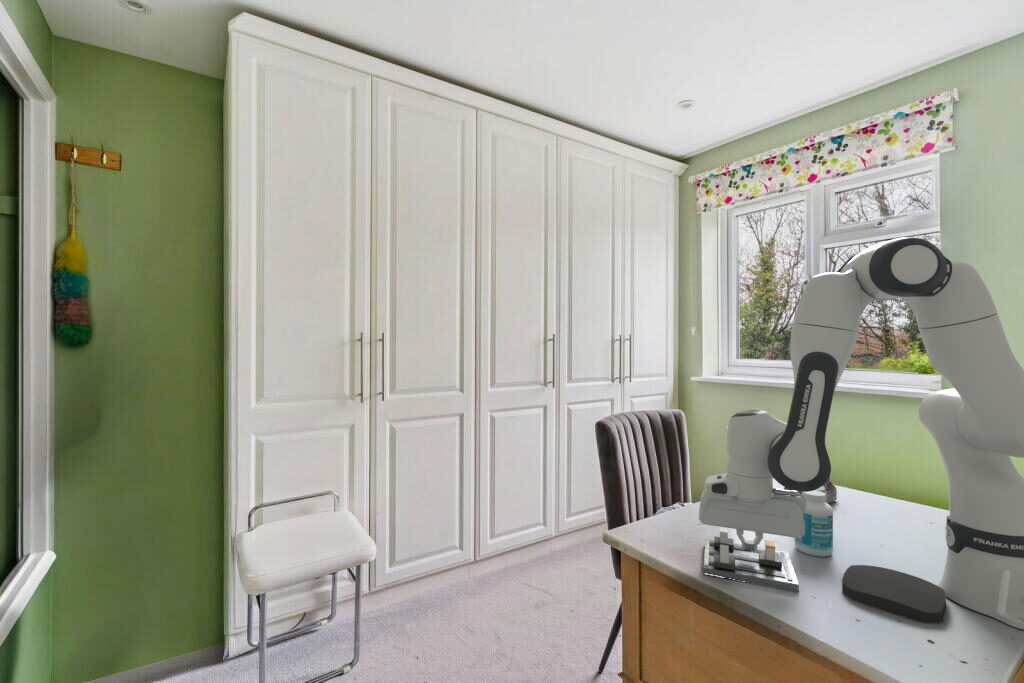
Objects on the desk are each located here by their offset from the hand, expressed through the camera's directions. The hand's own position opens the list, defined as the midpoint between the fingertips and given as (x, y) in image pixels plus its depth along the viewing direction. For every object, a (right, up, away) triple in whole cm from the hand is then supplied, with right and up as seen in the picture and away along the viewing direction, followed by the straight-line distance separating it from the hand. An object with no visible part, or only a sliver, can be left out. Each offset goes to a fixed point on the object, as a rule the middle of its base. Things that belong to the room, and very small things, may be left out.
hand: (749, 550), depth 100 cm
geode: (+39, -4, +41) cm, 57 cm away
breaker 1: (-2, -2, +7) cm, 7 cm away
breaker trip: (+4, -2, -2) cm, 4 cm away
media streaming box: (+21, -4, -12) cm, 25 cm away
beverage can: (+26, -4, +20) cm, 33 cm away
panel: (0, -4, 0) cm, 4 cm away
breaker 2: (-7, -2, -3) cm, 7 cm away
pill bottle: (+19, -4, +8) cm, 21 cm away
